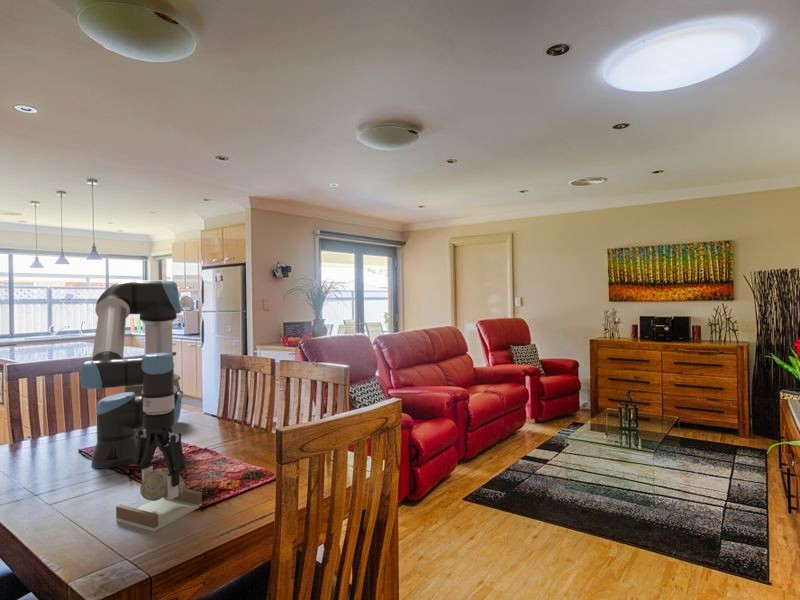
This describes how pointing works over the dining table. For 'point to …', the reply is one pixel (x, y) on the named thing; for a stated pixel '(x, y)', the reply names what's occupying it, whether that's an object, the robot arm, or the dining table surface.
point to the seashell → (158, 485)
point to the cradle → (159, 511)
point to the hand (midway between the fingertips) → (160, 494)
